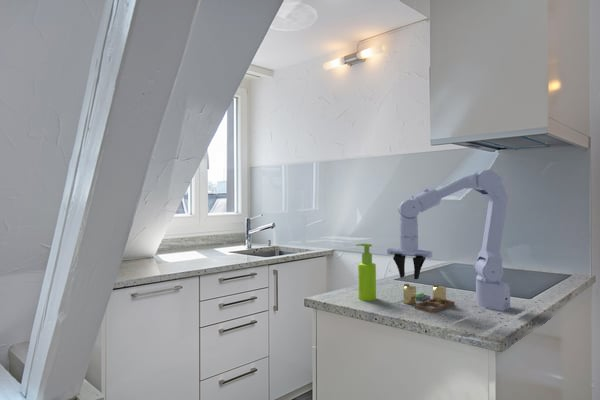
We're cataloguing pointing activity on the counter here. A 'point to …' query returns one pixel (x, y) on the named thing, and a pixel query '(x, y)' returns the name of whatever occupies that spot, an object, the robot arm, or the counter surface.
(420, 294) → the button
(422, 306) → the wooden tray
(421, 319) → the counter surface
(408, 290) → the cylinder
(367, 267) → the soap dispenser
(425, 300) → the button housing
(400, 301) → the light blue shallow tray
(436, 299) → the cylinder
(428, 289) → the counter surface
